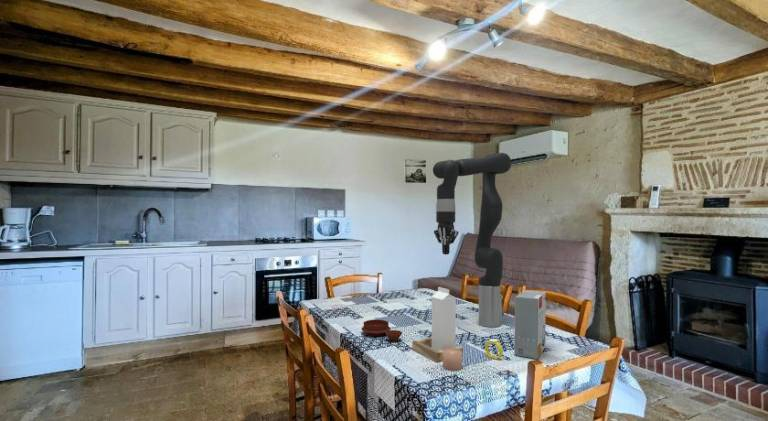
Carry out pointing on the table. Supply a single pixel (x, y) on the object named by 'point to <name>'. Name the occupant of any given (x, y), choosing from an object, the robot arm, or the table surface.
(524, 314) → the hard drive box
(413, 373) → the table surface
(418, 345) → the display frame
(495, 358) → the watch
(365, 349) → the table surface
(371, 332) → the pottery
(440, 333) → the milk
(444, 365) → the peach rounded capsule
